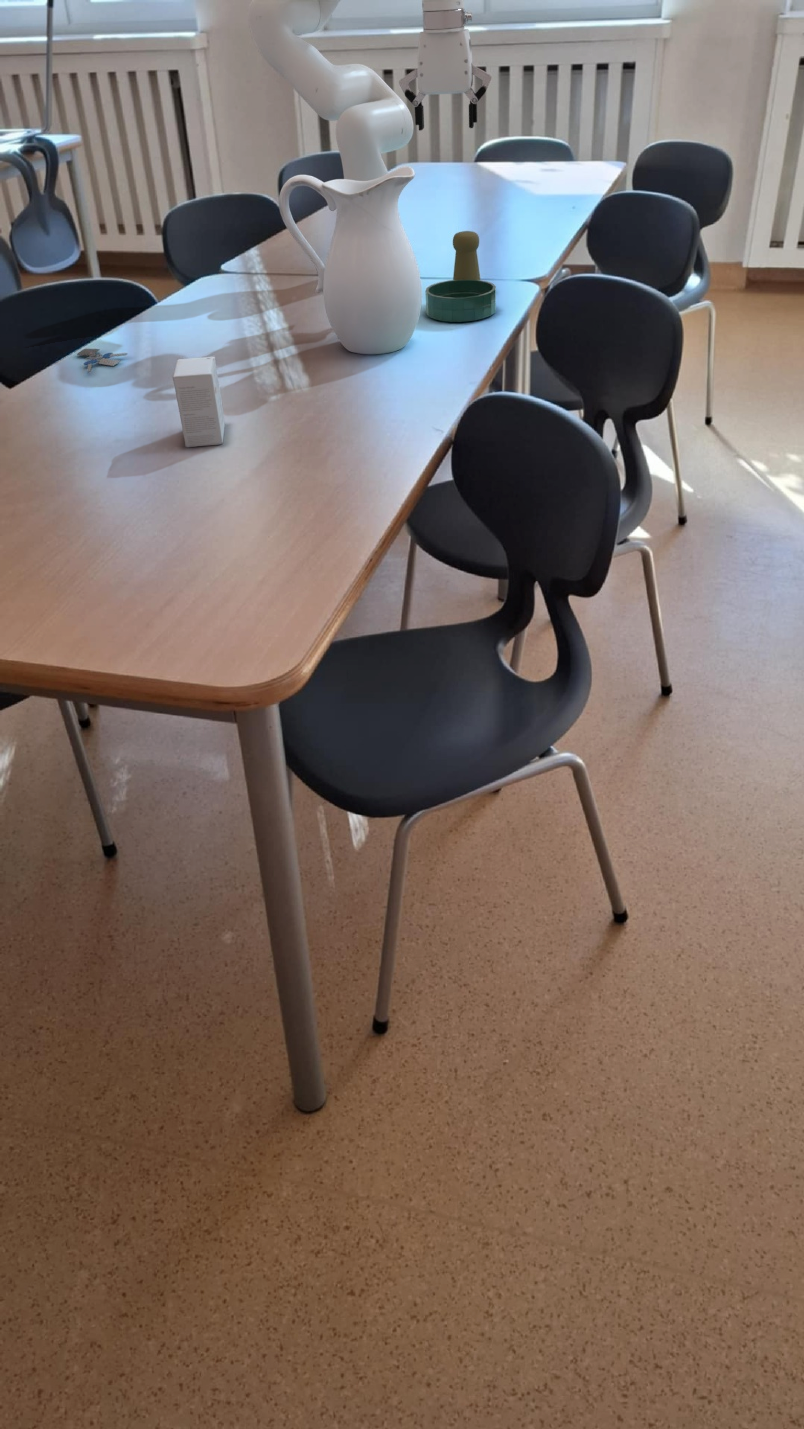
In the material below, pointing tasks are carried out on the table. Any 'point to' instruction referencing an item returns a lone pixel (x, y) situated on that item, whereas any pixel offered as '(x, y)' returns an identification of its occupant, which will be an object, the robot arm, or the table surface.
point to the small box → (199, 401)
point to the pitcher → (364, 261)
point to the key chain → (99, 357)
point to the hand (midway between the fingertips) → (446, 128)
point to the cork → (466, 255)
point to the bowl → (460, 300)
